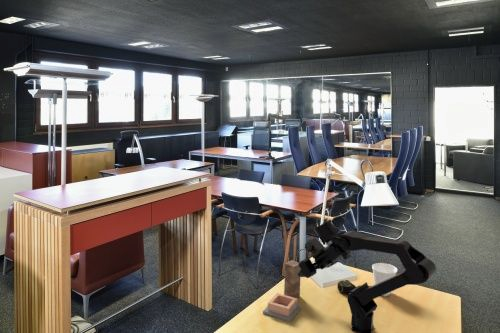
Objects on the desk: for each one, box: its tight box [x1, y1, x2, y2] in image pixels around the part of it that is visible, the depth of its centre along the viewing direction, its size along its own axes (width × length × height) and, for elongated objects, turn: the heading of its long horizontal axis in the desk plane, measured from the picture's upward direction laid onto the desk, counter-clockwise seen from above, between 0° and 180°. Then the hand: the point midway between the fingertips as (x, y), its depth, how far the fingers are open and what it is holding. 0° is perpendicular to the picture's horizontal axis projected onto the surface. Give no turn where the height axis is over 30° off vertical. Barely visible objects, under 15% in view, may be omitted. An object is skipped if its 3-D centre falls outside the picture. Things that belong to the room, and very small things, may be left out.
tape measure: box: [336, 279, 357, 295], centre depth 156 cm, size 7×7×4 cm
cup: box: [371, 262, 398, 297], centre depth 155 cm, size 10×10×11 cm
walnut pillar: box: [283, 259, 301, 299], centre depth 151 cm, size 4×4×14 cm
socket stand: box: [262, 292, 302, 323], centre depth 141 cm, size 11×11×4 cm
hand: (305, 272), depth 146 cm, fingers open, 9 cm apart
